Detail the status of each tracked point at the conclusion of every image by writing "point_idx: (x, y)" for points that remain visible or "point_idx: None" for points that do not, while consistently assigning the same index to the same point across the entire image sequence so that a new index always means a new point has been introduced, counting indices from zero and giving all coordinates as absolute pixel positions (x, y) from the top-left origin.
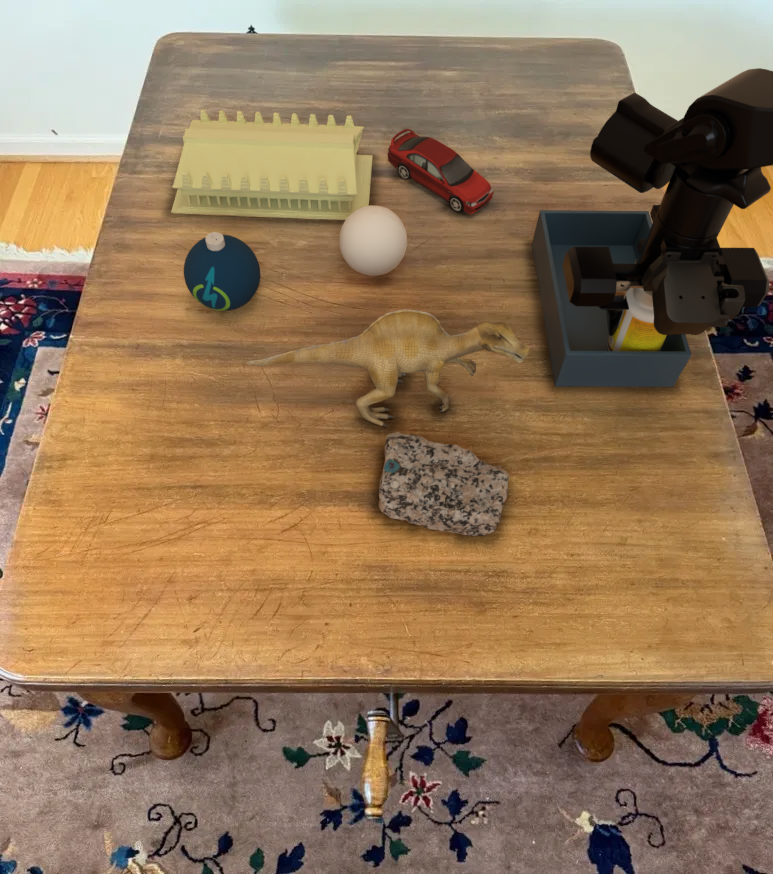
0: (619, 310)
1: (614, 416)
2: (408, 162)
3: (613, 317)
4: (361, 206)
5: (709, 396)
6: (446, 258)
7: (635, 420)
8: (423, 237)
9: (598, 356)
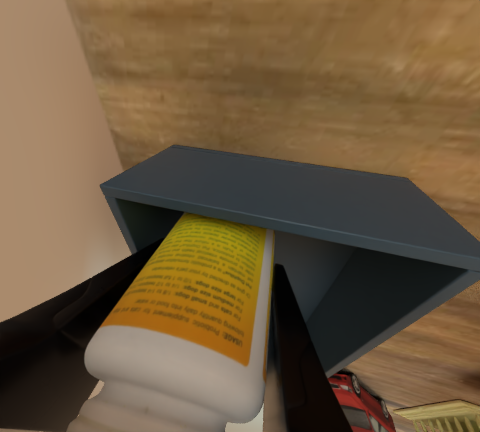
0: (302, 417)
1: (312, 71)
2: (387, 426)
3: (306, 356)
4: (455, 409)
5: (115, 115)
6: (403, 358)
7: (264, 53)
8: (409, 374)
9: (368, 231)
